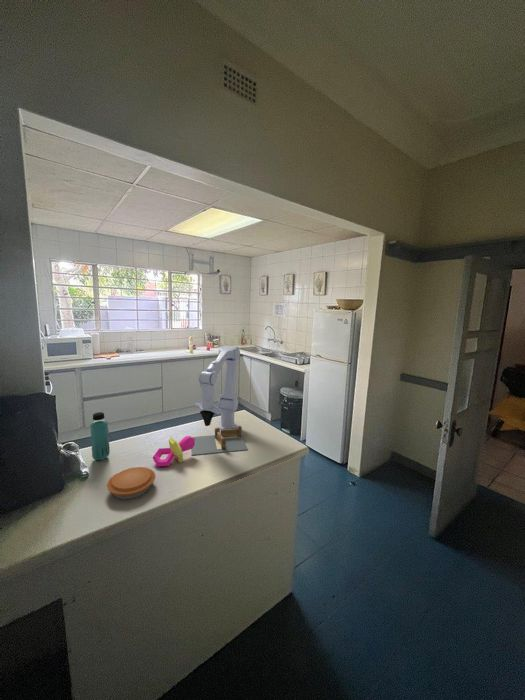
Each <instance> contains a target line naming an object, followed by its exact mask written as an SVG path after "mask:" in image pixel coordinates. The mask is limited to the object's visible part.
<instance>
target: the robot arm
mask: <svg viewBox="0 0 525 700" xmlns="http://www.w3.org/2000/svg"><path fill="white" fill-rule="evenodd" d="M240 355H241V351H240V347H239V346H231V345H230V346H229V345H227V346H226V345H220V347H219V349H218V355H217V357H216V359H215V360H213V361H211V362H210V363H209V365H208V366H207V368H206V369H205V370H202V371H201V372H200V373H199V377H198V383H199V386H200V389H201V391H200V393H201V396H200V397H201V400H200V401H201V402H196V403H195V404H194V408H196V409H199V411H200V412H199V413H200V415H201V417H202V420H203V423H204V426H205V427H208V426H211V423H212V419H213V417H214V415H215V414H216V415H217V416H218V415H220V421H219V426H220V427H219V428H220V430H225V429H237V426H236V424H235V412H236V411H237V410H238V407H239V401H238V400H239V399H238V396H237V395H236V394H235V393H234V388H235V378H236V368H237V363H239V362H240V357H241V356H240ZM224 363H226V371H225V381H224V391H223V393H221V394H220V395H219V397H218V402H217V406H216V405H215V384H216V382H217V379H218V375H219V373H220V372H221V370H222V369H223V368H222V367H223V364H224Z"/></svg>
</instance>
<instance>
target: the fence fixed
mask: <svg viewBox="0 0 525 700" xmlns="http://www.w3.org/2000/svg"><path fill="white" fill-rule="evenodd" d="M217 432H220V434H221V435H222V437H233V436H238V437H241V434H242V426H241V425H238V426H237V428H233V429H221V427H215V428H214V435H215V439H217Z"/></svg>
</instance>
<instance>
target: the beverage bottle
mask: <svg viewBox="0 0 525 700" xmlns="http://www.w3.org/2000/svg"><path fill="white" fill-rule="evenodd" d="M92 420H93V422H92V423H91V424H90V425H89V426H90V439H91V445H90V446H91V455H92V456H91V457H92V459H93V460H95V461H98V460H104V459H106V458H107V457H109V456H110V454H111V453H110V451H111V450H110V439H109V437H110V436H109V424H108V421H107V420H106V419H105V413H104V412H103V411H102V412H101V411H100V412H95V413H93V414H92Z"/></svg>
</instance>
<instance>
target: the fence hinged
mask: <svg viewBox="0 0 525 700" xmlns="http://www.w3.org/2000/svg"><path fill="white" fill-rule="evenodd" d="M217 440H218V441H219V443H220V445H221V448H222V449H225V448H226V438H225V437H222V435H221V431H220V432H217Z"/></svg>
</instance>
